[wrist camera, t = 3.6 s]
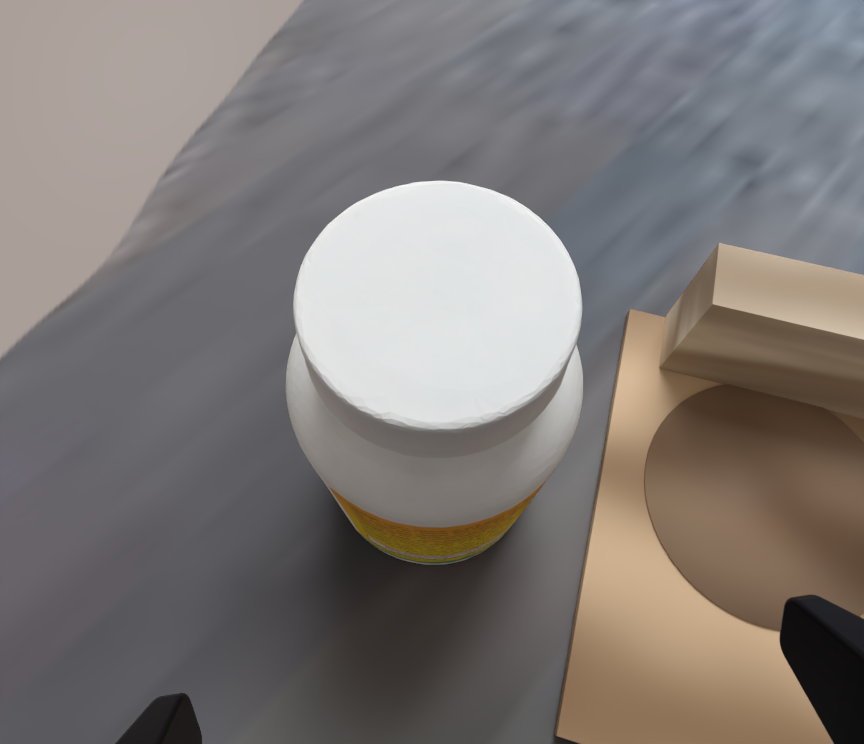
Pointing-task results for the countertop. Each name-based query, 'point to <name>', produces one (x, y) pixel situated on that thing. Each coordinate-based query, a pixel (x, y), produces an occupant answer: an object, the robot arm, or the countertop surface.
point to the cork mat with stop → (721, 507)
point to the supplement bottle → (435, 365)
